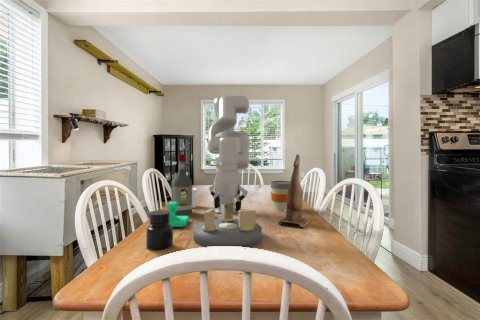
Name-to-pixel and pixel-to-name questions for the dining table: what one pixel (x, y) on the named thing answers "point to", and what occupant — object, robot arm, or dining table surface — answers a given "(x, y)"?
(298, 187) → the bird sculpture
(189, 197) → the liquor
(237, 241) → the tribrach base
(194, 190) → the white cup
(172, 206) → the camera mount
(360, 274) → the dining table surface
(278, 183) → the reusable coffee cup
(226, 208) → the footscrew knob
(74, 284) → the dining table surface
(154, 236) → the ink bottle
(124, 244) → the dining table surface
